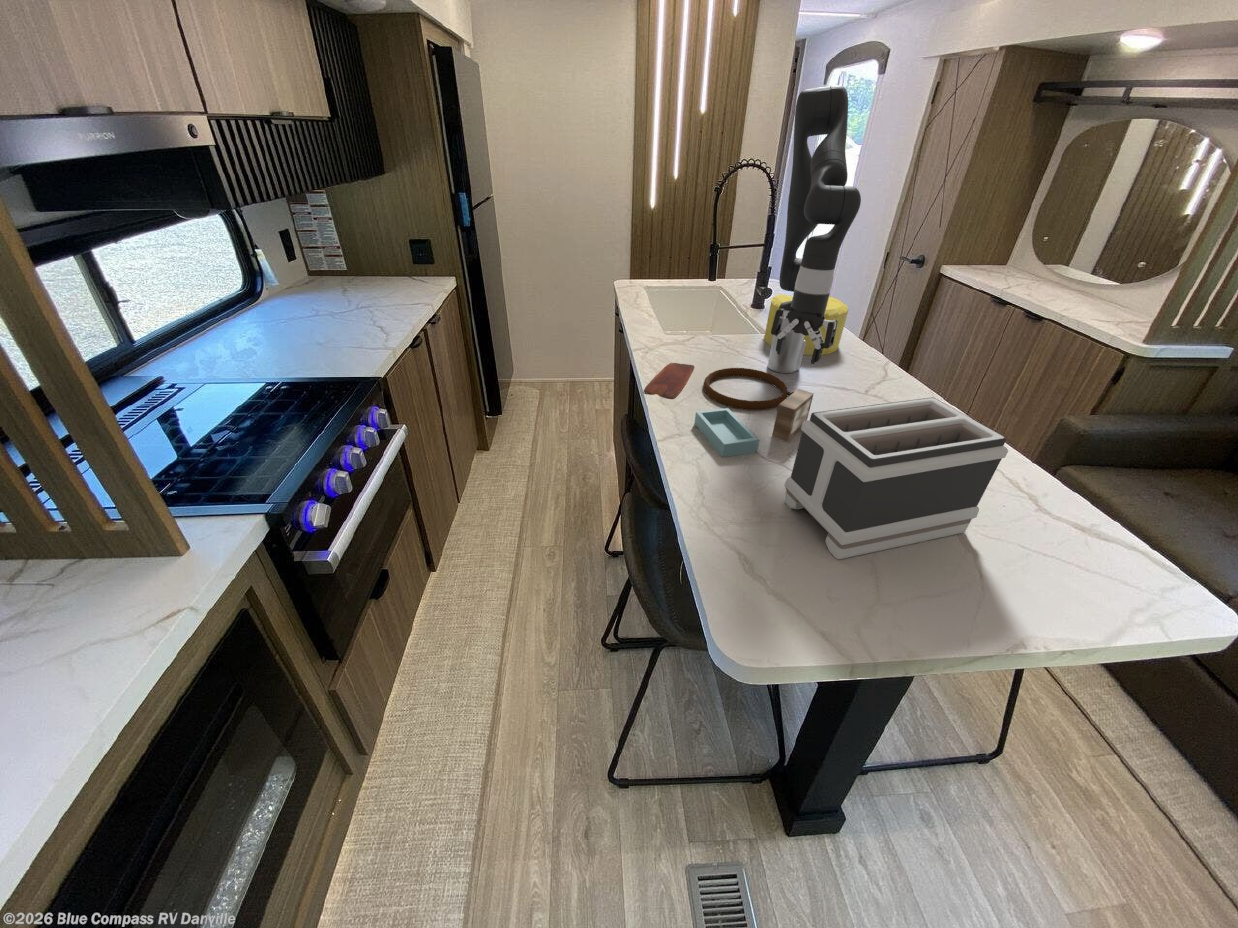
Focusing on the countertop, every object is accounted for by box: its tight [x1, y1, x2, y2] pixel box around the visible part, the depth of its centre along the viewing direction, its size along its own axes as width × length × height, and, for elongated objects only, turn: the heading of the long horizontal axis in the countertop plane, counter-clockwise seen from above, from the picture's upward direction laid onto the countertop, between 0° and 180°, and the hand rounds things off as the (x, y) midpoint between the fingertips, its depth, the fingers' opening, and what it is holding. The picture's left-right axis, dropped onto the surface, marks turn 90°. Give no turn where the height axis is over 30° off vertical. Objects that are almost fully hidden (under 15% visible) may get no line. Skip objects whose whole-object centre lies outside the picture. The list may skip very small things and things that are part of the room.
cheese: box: [763, 293, 849, 356], centre depth 183 cm, size 26×26×15 cm
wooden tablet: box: [643, 362, 695, 400], centre depth 156 cm, size 27×10×2 cm, turn 158°
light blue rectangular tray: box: [694, 407, 760, 458], centre depth 126 cm, size 16×9×4 cm, turn 16°
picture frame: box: [771, 388, 815, 443], centre depth 129 cm, size 12×4×9 cm, turn 141°
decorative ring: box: [702, 367, 795, 411], centre depth 149 cm, size 24×3×30 cm
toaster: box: [783, 397, 1009, 560], centre depth 97 cm, size 18×34×21 cm, turn 107°
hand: (796, 358), depth 122 cm, fingers open, 8 cm apart
